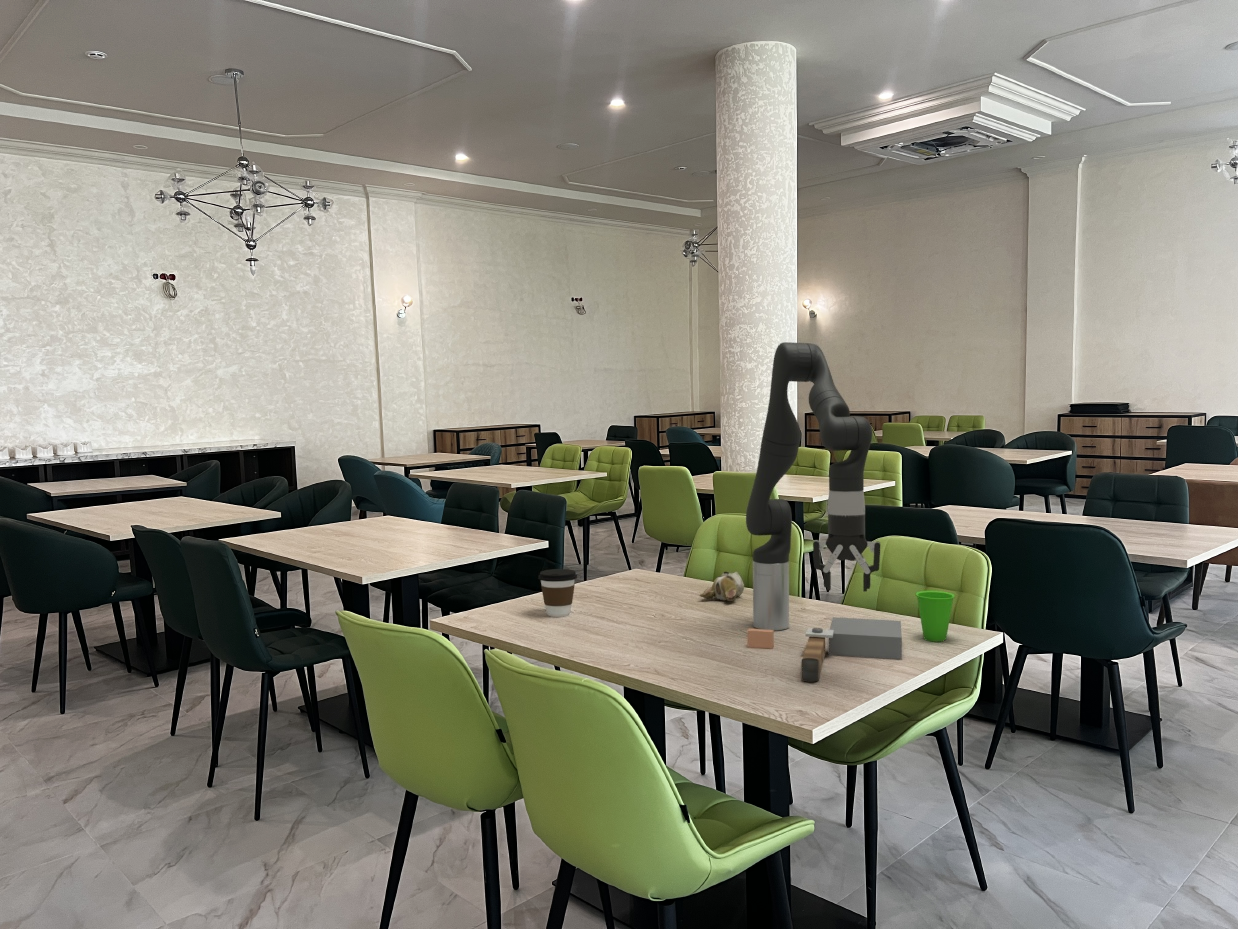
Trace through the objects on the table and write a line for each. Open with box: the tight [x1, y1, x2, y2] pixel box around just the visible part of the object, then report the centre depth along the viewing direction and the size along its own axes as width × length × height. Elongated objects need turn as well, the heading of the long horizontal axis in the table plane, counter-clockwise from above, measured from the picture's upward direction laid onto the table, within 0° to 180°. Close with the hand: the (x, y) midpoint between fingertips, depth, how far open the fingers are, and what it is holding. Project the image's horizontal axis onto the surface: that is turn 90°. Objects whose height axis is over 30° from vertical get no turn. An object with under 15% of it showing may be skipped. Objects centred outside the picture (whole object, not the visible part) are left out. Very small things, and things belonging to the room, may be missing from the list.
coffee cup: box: [537, 568, 578, 618], centre depth 246 cm, size 11×11×12 cm
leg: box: [801, 637, 826, 683], centre depth 194 cm, size 24×4×4 cm, turn 163°
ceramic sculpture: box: [699, 571, 745, 602], centre depth 263 cm, size 11×9×15 cm
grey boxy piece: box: [746, 616, 903, 660], centre depth 210 cm, size 18×35×6 cm, turn 73°
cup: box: [915, 590, 956, 642], centre depth 215 cm, size 9×9×11 cm
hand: (846, 590), depth 186 cm, fingers open, 7 cm apart
